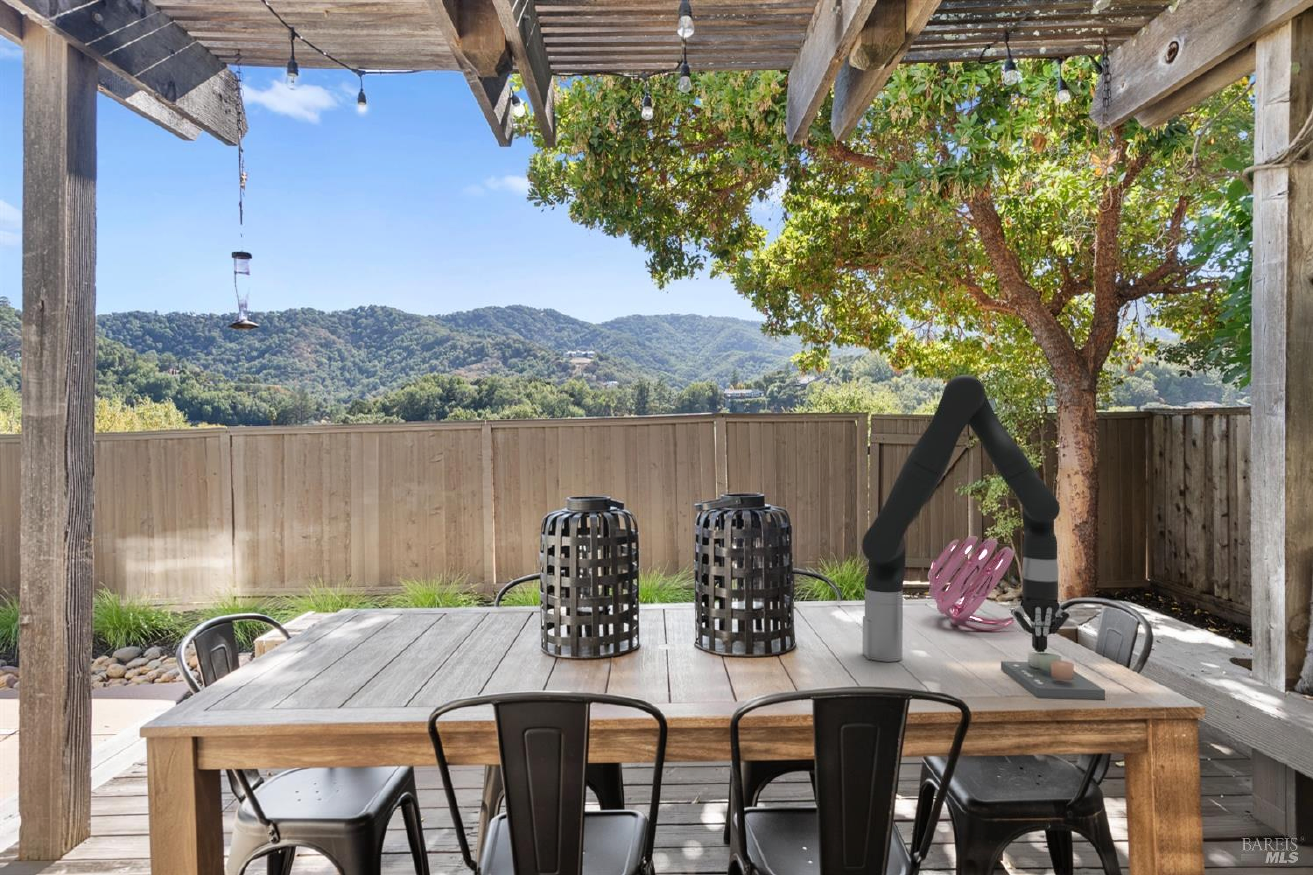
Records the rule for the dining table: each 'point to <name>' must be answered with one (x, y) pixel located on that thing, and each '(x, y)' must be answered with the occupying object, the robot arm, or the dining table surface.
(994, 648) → the dining table surface
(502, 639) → the dining table surface
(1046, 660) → the sage button
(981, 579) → the spiral basket
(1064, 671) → the terracotta button
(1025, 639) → the dining table surface
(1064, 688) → the charcoal panel
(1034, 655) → the cream button
